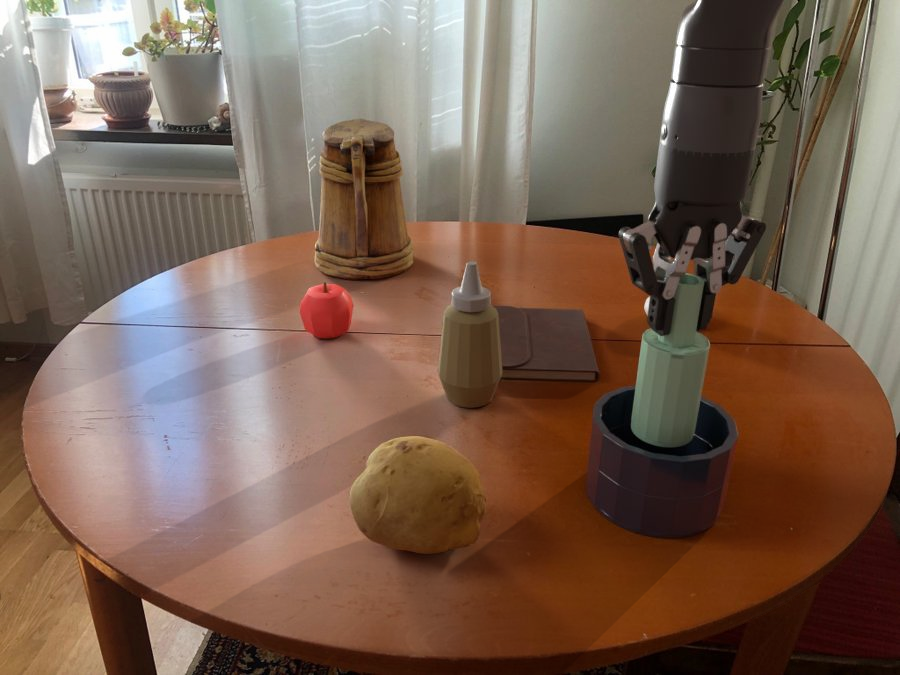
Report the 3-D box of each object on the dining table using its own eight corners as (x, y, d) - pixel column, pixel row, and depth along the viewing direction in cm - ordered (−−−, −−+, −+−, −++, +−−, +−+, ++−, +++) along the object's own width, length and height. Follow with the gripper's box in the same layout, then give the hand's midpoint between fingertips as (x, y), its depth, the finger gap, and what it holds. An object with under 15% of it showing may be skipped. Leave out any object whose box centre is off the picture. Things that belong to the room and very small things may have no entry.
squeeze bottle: (454, 376, 99) (455, 247, 91) (511, 389, 95) (517, 257, 87) (426, 404, 92) (424, 268, 84) (486, 420, 89) (490, 280, 81)
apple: (306, 347, 106) (301, 296, 102) (297, 325, 113) (293, 276, 109) (360, 339, 108) (357, 289, 105) (349, 318, 115) (346, 269, 111)
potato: (484, 575, 66) (487, 484, 62) (345, 569, 67) (337, 478, 62) (486, 502, 75) (488, 418, 71) (363, 497, 76) (358, 414, 71)
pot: (714, 463, 81) (728, 392, 77) (729, 547, 69) (746, 469, 65) (588, 448, 84) (595, 378, 80) (582, 527, 72) (590, 450, 68)
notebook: (583, 318, 115) (584, 307, 114) (599, 381, 97) (600, 368, 96) (486, 316, 116) (486, 304, 115) (484, 378, 98) (485, 365, 97)
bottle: (691, 417, 75) (716, 269, 68) (696, 451, 70) (724, 294, 63) (630, 410, 76) (649, 264, 69) (631, 443, 71) (651, 289, 64)
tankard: (407, 243, 146) (404, 113, 135) (422, 289, 126) (420, 139, 114) (314, 248, 144) (303, 116, 133) (314, 295, 123) (301, 143, 112)
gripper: (657, 154, 55) (631, 358, 63) (810, 143, 59) (769, 336, 67) (607, 135, 62) (590, 323, 69) (749, 126, 66) (717, 304, 73)
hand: (678, 328), depth 68 cm, fingers closed on bottle, 3 cm apart
